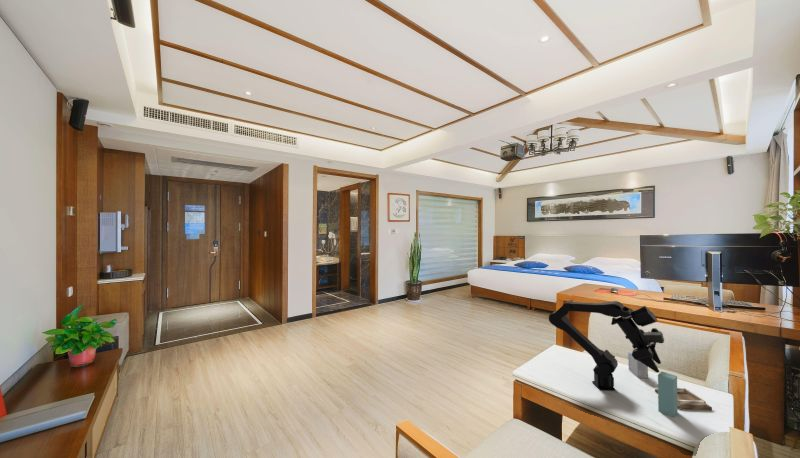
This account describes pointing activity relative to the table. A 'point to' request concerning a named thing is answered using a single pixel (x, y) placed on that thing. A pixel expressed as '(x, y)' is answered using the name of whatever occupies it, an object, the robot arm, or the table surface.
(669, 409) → the column block
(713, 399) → the table surface
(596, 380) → the robot arm
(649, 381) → the table surface
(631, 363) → the medicine box
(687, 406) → the base plate
